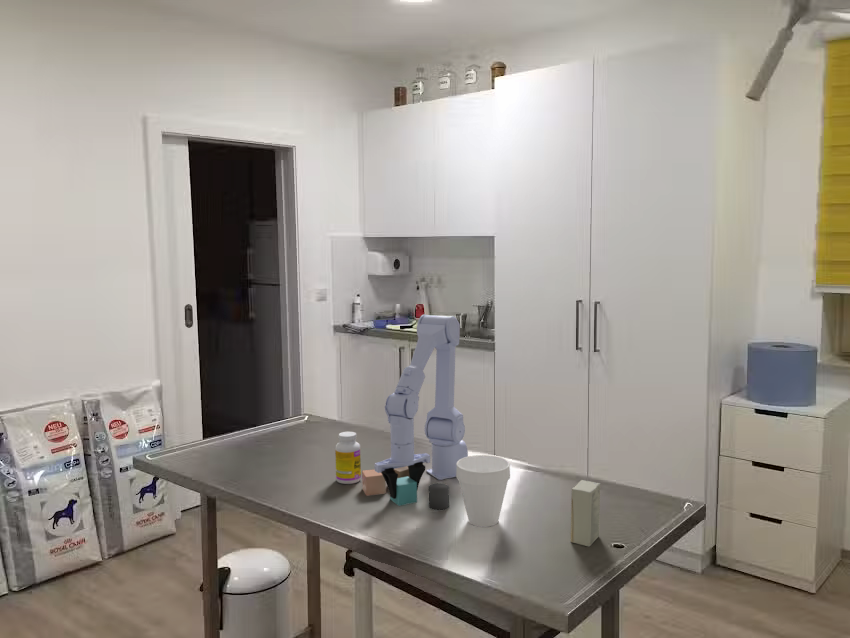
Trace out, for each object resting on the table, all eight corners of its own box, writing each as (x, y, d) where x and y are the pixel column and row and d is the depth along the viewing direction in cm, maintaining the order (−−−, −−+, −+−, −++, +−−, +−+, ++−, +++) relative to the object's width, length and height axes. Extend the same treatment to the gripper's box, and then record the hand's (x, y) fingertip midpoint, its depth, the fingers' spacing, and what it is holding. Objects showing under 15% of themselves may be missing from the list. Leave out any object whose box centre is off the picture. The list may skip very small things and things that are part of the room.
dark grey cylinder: (443, 501, 178) (443, 481, 178) (453, 508, 174) (452, 488, 173) (425, 504, 176) (424, 485, 175) (434, 512, 172) (434, 491, 171)
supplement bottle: (357, 485, 190) (355, 438, 188) (332, 484, 191) (331, 437, 189) (364, 476, 196) (362, 430, 195) (340, 475, 198) (339, 429, 196)
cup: (495, 536, 158) (495, 475, 156) (446, 524, 164) (446, 466, 162) (519, 516, 168) (519, 459, 166) (472, 506, 174) (472, 451, 173)
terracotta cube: (381, 487, 189) (380, 468, 188) (385, 493, 184) (385, 474, 183) (362, 489, 187) (362, 470, 187) (366, 496, 183) (365, 476, 182)
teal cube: (408, 495, 182) (407, 476, 182) (417, 502, 178) (416, 482, 177) (390, 499, 180) (389, 479, 179) (398, 505, 176) (398, 486, 175)
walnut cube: (402, 480, 193) (402, 462, 192) (415, 485, 189) (414, 467, 189) (388, 485, 190) (387, 467, 189) (400, 490, 186) (399, 471, 185)
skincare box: (580, 532, 159) (581, 478, 157) (600, 536, 157) (601, 482, 155) (569, 542, 154) (570, 488, 152) (589, 547, 151) (590, 491, 150)
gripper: (420, 433, 184) (420, 484, 186) (368, 442, 177) (369, 495, 179) (434, 439, 178) (435, 493, 180) (381, 449, 171) (382, 505, 173)
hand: (403, 495), depth 179 cm, fingers closed on teal cube, 5 cm apart
